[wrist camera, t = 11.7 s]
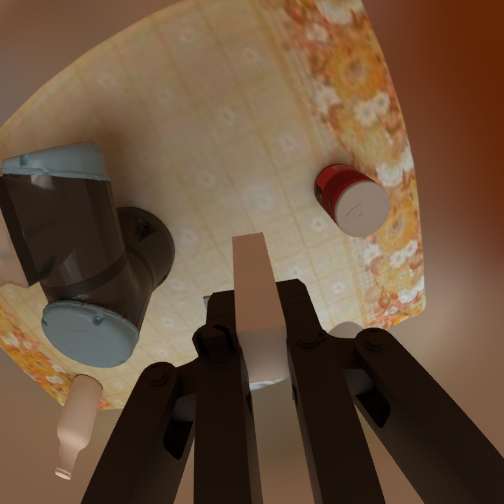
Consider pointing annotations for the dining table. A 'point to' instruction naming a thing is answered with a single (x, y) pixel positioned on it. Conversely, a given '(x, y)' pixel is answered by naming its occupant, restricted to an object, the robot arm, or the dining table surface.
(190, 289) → the dining table surface
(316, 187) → the canned food
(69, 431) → the alcohol
